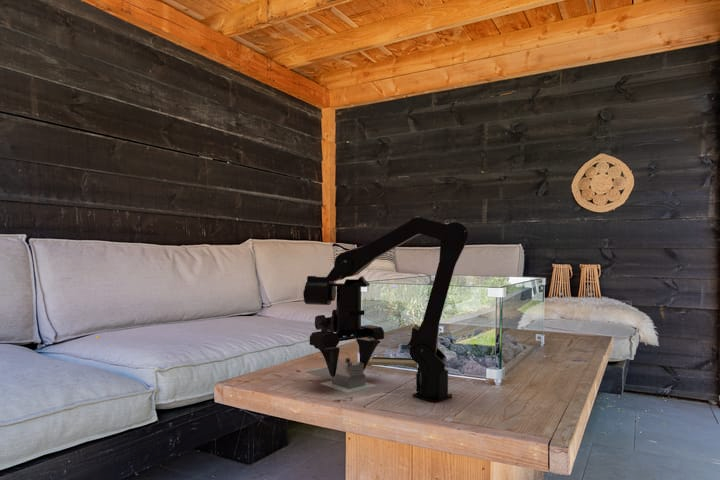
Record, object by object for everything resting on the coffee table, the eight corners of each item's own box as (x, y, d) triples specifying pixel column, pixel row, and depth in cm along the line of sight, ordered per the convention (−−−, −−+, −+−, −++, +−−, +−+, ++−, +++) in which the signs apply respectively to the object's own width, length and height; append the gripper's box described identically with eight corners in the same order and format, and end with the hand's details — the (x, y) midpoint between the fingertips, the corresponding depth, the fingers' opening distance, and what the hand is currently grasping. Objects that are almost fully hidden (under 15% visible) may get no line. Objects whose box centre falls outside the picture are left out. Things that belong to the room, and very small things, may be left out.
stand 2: (377, 391, 110) (377, 385, 110) (347, 399, 104) (347, 392, 104) (348, 383, 117) (348, 376, 117) (319, 389, 111) (319, 383, 111)
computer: (416, 366, 138) (416, 354, 138) (417, 373, 130) (417, 361, 130) (361, 365, 139) (362, 353, 139) (359, 371, 131) (359, 359, 131)
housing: (348, 380, 115) (348, 356, 115) (365, 385, 110) (365, 361, 110) (332, 383, 111) (332, 359, 111) (349, 389, 107) (349, 364, 107)
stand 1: (357, 379, 121) (357, 373, 121) (330, 385, 115) (330, 379, 115) (332, 372, 128) (332, 366, 128) (305, 377, 122) (305, 371, 122)
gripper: (354, 300, 124) (354, 361, 123) (295, 305, 111) (294, 373, 110) (385, 304, 115) (385, 369, 115) (325, 309, 103) (324, 383, 102)
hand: (347, 373), depth 111 cm, fingers open, 9 cm apart
